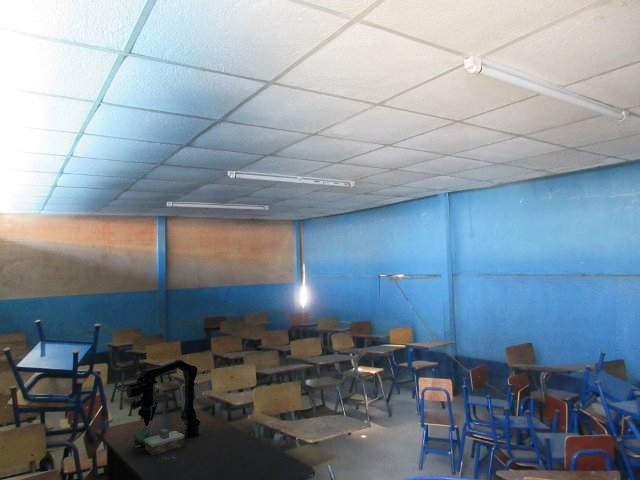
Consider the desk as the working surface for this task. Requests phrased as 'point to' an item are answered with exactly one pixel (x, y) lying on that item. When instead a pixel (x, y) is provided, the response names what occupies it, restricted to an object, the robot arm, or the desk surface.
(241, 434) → the desk surface
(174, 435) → the lid
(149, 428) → the food container
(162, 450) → the crate
